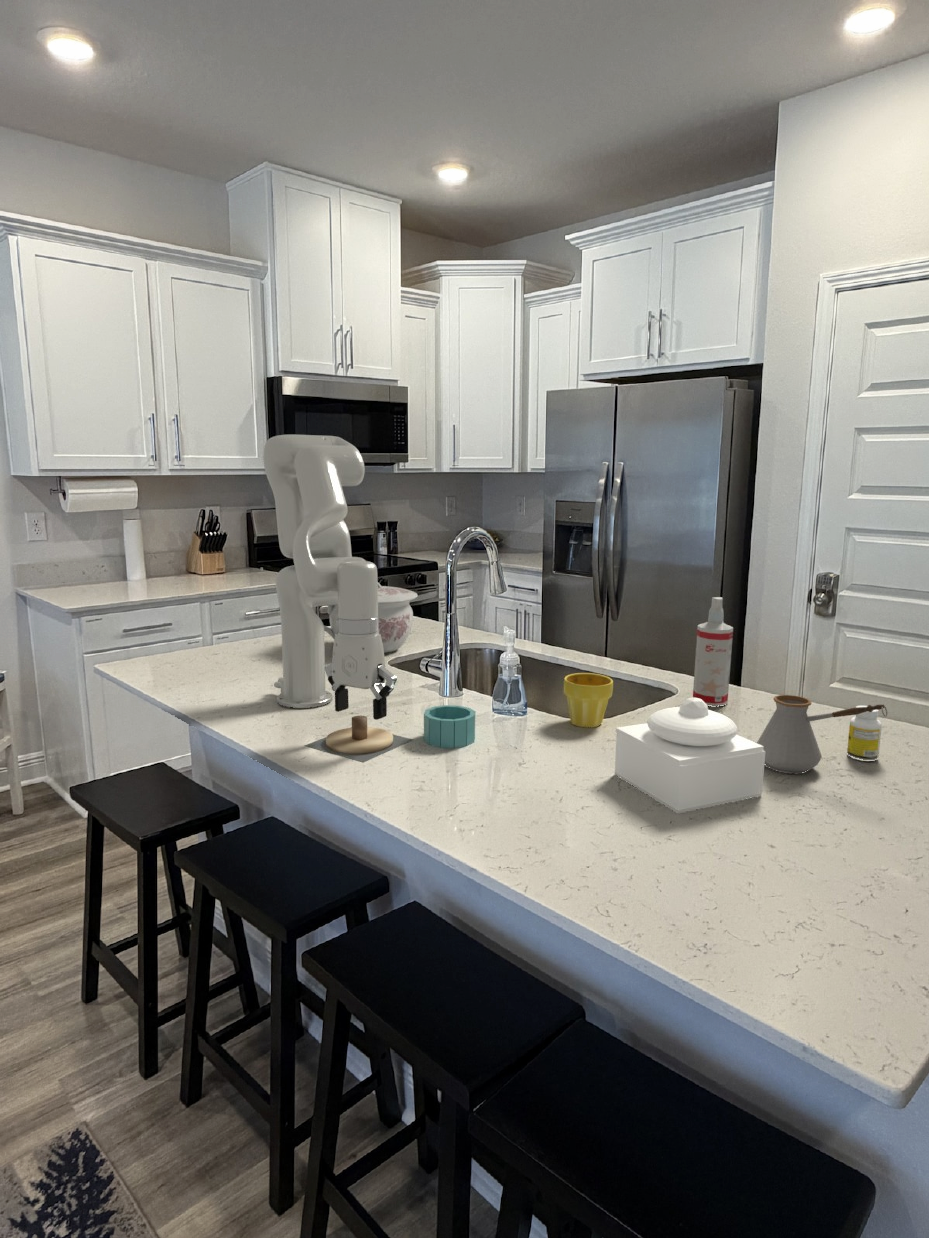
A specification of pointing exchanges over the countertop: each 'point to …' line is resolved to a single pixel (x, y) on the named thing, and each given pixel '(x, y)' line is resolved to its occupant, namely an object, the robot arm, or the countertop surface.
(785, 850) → the countertop surface
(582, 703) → the plant pot
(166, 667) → the countertop surface
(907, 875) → the countertop surface
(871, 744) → the supplement bottle
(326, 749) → the mat
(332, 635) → the chamber pot
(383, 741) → the lid
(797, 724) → the coffee pot
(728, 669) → the spray bottle
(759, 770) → the white square canister
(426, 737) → the bowl
